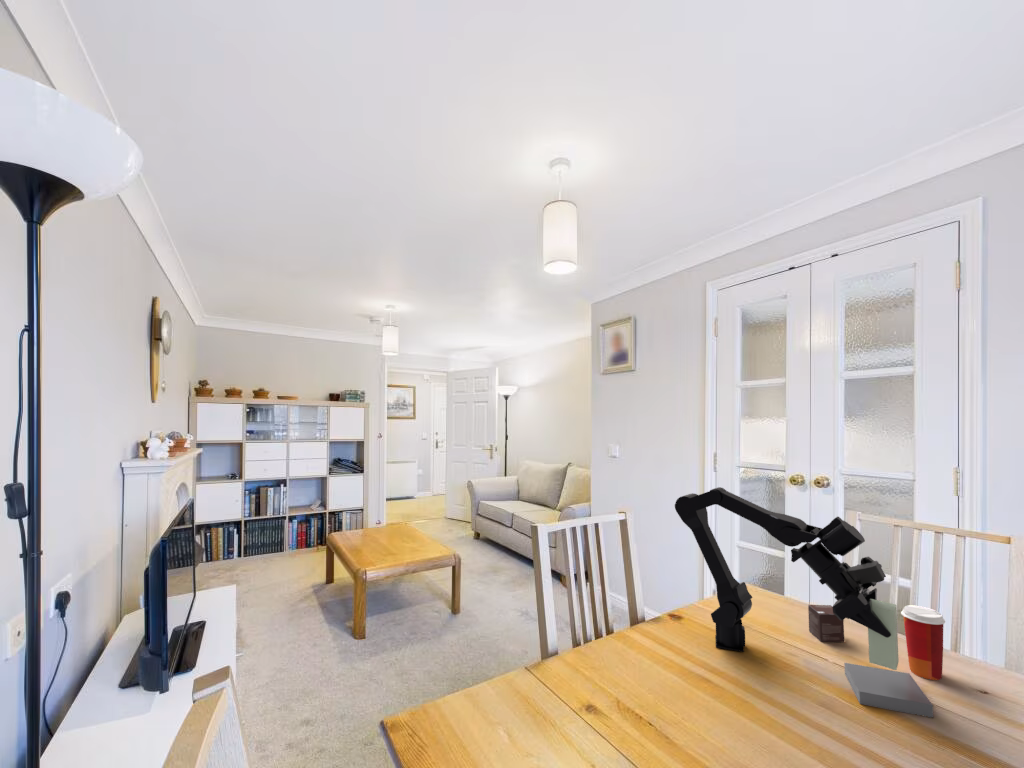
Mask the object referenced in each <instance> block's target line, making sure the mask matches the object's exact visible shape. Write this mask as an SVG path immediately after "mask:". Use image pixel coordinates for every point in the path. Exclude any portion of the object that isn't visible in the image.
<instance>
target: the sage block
mask: <svg viewBox="0 0 1024 768" xmlns="http://www.w3.org/2000/svg"><path fill="white" fill-rule="evenodd" d="M871 600H872V610H873V611H874V613H875V614H876V615H877V616H878V618H879V619H880V620H881V622H882V623H883V624H884V625H885V627H886V628H887V629H888V631H889V632H890V633H891V636H890V637H888V638H886V637H884V636H883V635H881V634H879V633H877V632H875V631H873V630H871V629H869V628H868V627H867V635H868V637H867V638H868V639H867V640H868V661H869V663H870V664H873V665H877V666H880V667H884V668H888V669H889V670H890V669H891V670H892V671H897V669H898V667H899V658H900V657H899V639H898V638H899V637H898V615H897V603H892V602H886V601H884V600H883V601H881V600H879V599H877V600H874V599H871Z"/></svg>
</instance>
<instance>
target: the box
mask: <svg viewBox="0 0 1024 768" xmlns="http://www.w3.org/2000/svg"><path fill="white" fill-rule="evenodd" d="M807 609H808V611H807V612H808V631H809V633H810V634H811V635H813V636H814V637H815V638H816V639H817V640H818V641H819V642H821V643H827V642H828V643H833V642H834V643H845V627H844V623H845V622H844V620H845V619H843V620H841V621H840V620H839V619H838V618H837V616H836V615H835V614H834V613H833V605H831V604H830V605H829V604H827V605H826V604H808V608H807Z"/></svg>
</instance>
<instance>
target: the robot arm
mask: <svg viewBox="0 0 1024 768" xmlns="http://www.w3.org/2000/svg"><path fill="white" fill-rule="evenodd" d="M714 505H717V506H719V507H721V508H723V509H725V510H727V511H730V512H731V513H733V514H736V515H737V516H740V517H741V518H743V519H745V520H747V521H750V522H752V523H753V524H756V525H757V526H760V527H761V528H763V529H764V530H765V531H766V532H767V533H768V534H769V535H770V536H771V537H772V538H774V539H775V540H777V541H779V542H780V543H781V544H783V545H784V546H787V547H793V548H791V550H790V552H791V557H790V558H791V560H790V561H791V562H792V563H795V562H797V561H798V560H800V559H801V560H802V561H804V563H805V564H806V565H807V566H808V567H809V568H810V569H811V571H812V572H814V574H815V575H817V577H818V578H819V580H818V583H819V582H820V584H821V585H823V586H824V585H826V586H827V587H828V588H829V589H830V590H831V591H832V592H833V594H835V596H834V599H835V600H836V601H835V602H834V604H833V605H832V607H833V613H834V614H835V615H836V616H837V618H838V619H839V620H840V621H841V620H843V619H844V620H845V619H847V620H851V621H853V622H855V623H857V624H860V625H861V626H863V627H866V628H867V629H868V628H869V629H871V630H873V631H875V632H877V633H879V634H881V635H883V636H884V637H886V638H888V637H890V636H891V633H890V632H889V631H888V629H887V628H886V627H885V625H884V624H883V623H882V622H881V620H880V619H879V618H878V616H877V615H876V614H875V613H874V611H873V610H872V600H871V599H874V600H878V594H877V593H878V589H877V588H875V587H876V585H877V584H878V583H881V582H884V581H885V578H886V574H885V572H884V570H883V569H882V567H883V566H882V564H880V563H879V561H878V560H873V559H872V558H871V557H870V556H864V557H862V558H861V559H860V564H857V565H855V566H851V565H849V564H848V563H847V562H844V561H842V562H841V561H840V560H839V559H837V557H836V556H838V555H839V556H841V557H845V556H846V555H847V554H849V553H850V552H852V551H853V550H854V549H857V548H858V547H859V546H860V545H862V544H864V543H865V542H866V540H865V538H864V536H863V535H862V533H861V532H860V531H859V530H858V529H857V528H856V527H855V526H854V525H851V524H850V523H848V522H847V521H845V520H843V519H842V518H841V517H840V516H836V517H835V518H834V519H832V520H831V521H830V522H829V523H828V524H827V525H825V526H823V527H818V526H814V525H811V524H807V523H806V522H805V521H804V520H803V519H801V518H799V517H796V516H795V517H794V516H791V515H789V514H784V513H781V512H775V511H771V510H768V509H767V508H764V507H762V506H760V505H758V504H755V503H753V502H752V501H749V500H747V499H745V498H743V497H741V496H739V495H736V494H734V493H732V492H730V491H727V489H725V488H724V487H719V486H718V487H715V488H712V489H710V490H709V491H707V492H703V493H700V494H698V493H687V494H685V495H682V496H680V497H678V498H677V499H676V501H675V504H674V509H675V511H676V514H677V515H678V517H679V518H680V520H681V521H682V522H683V523H684V525H685V526H687V528H688V529H690V530H691V532H692V534H693V536H694V539H695V540H696V543H697V545H698V547H699V550H700V552H701V554H702V556H703V558H704V560H705V563H706V565H707V567H708V569H709V571H710V574H711V576H712V578H713V580H714V582H715V586H716V599H717V601H718V605H719V606H718V607H717V608H716V609H715V610H714V611H712V612H711V613H710V617H711V619H712V622H713V624H715V635H714V636H715V639H714V640H715V648H717V649H718V648H719V649H724V650H730V651H734V652H740V653H741V652H743V653H744V652H745V649H744V648H745V647H746V628H745V626H744V625H743V622H742V618H744V617H745V616H746V615H747V614H748V613H749V612H750V611H751V609H752V606H753V602H752V598H753V596H752V595H751V593H750V591H749V589H748V586H747V584H746V583H745V582H744V581H743V582H741V583H740V582H739V581H738V580H737V579H736V578H735V577H734V576H733V573H732V572H731V570H730V567H729V565H728V562H727V561H726V559H725V557H724V554H723V553H722V550H721V548H720V546H719V544H718V542H717V540H716V538H715V536H714V535H715V534H714V533H713V531H712V528H711V527H710V525H709V524H710V523H709V515H708V509H707V508H708V507H709V508H710V507H712V506H714ZM817 538H818V539H819V540H818V541H816V542H815V543H814V544H813V543H812V542H813V541H815V540H817ZM802 543H803V545H802V546H800V547H799V548H795V547H797V546H799V545H801V544H802ZM834 555H835V556H834ZM870 587H874V589H872V590H870Z"/></svg>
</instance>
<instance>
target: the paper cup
mask: <svg viewBox="0 0 1024 768" xmlns="http://www.w3.org/2000/svg"><path fill="white" fill-rule="evenodd" d="M900 615H901V616H903V624H904V632H905V634H904V635H905V643H906V649H907V651H906V652H907V658H908V659H907V660H908V666H909V667H908V668H909V670H911V671H910V672H911V673H912V674H913V675H915V676H918V677H919V678H922V677H923V678H922V679H925V680H929V679H930V681H941V680H942V678H943V666H944V665H943V660H944V659H943V658H944V624H945V623H946V620H945V619H944V616H943V615H942V614H941V613H940V612H939V611H937V610H935V609H933V608H929V607H927V606H926V607H925V606H921V605H914V604H913V605H909V604H908V605H905V606H904V607H903V608H902V611H901V612H900Z"/></svg>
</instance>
